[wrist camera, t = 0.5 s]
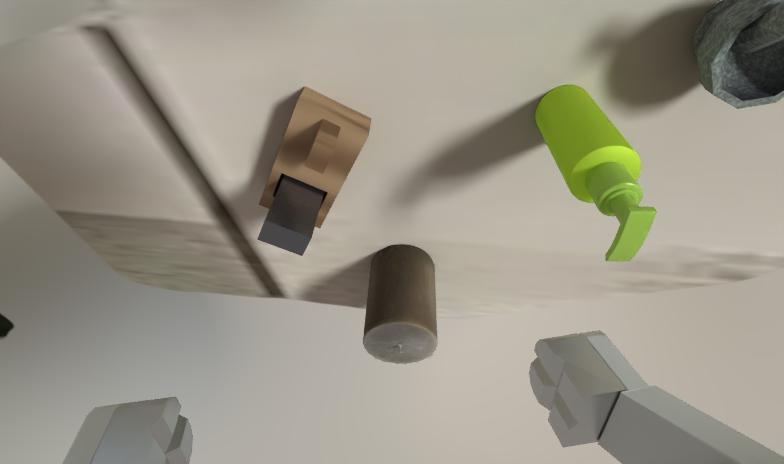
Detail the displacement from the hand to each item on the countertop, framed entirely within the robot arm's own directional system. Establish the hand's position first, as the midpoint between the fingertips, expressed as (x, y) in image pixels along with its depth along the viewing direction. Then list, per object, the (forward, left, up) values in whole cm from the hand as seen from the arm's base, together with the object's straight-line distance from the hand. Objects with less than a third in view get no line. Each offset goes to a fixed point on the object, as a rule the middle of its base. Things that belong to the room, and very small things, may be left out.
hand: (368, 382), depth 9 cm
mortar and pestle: (-5, +31, -39) cm, 50 cm away
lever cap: (+22, -8, -39) cm, 45 cm away
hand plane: (+19, -7, -39) cm, 43 cm away
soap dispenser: (+7, +20, -39) cm, 44 cm away
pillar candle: (+35, +8, -39) cm, 53 cm away
